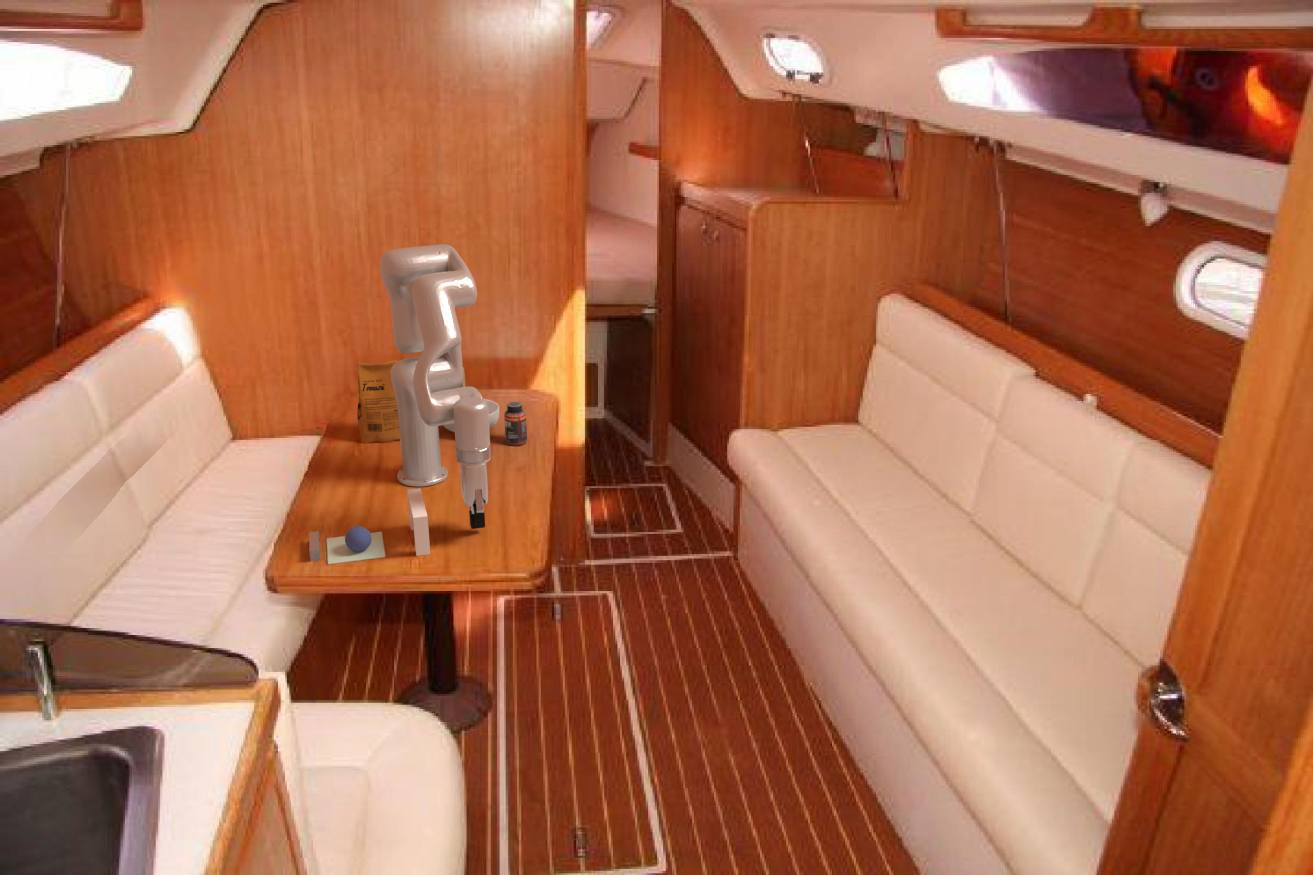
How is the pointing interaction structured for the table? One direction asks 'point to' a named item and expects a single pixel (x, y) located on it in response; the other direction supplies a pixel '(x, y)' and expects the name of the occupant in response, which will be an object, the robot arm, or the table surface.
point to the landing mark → (343, 554)
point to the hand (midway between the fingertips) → (477, 526)
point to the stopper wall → (314, 546)
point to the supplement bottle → (515, 424)
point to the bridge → (419, 521)
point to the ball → (358, 539)
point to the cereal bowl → (493, 415)
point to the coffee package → (377, 403)
